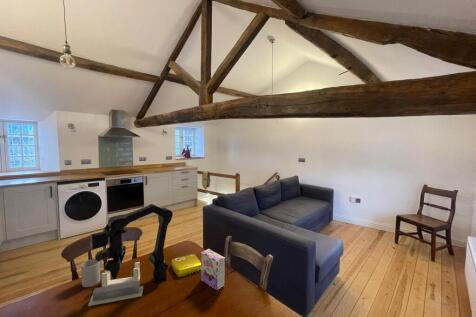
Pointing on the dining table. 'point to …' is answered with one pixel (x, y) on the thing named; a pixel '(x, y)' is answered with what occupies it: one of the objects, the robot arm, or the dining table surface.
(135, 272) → the rack
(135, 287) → the rail
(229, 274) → the dining table surface
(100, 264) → the mug
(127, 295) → the mat
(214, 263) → the candy box
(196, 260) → the element tile
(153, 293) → the dining table surface
